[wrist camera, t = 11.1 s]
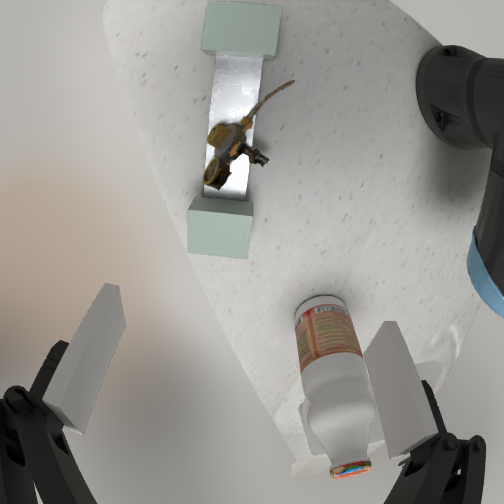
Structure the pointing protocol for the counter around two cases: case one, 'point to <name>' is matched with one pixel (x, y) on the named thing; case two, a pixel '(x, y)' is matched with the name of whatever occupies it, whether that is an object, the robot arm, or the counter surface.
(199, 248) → the mounted modules
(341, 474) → the fruit juice
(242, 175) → the rail
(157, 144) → the counter surface
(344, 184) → the counter surface
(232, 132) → the regulator
